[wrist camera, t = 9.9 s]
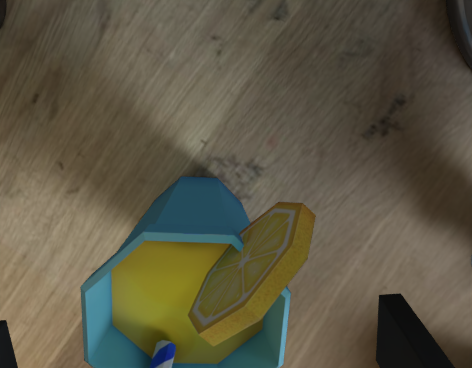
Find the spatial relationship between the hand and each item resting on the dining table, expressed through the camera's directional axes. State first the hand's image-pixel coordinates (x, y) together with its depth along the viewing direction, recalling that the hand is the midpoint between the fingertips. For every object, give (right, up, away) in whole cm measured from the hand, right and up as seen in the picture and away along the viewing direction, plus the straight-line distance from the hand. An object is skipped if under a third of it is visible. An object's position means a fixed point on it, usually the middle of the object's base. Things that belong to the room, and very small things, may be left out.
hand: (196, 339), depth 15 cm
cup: (-1, +3, +10) cm, 11 cm away
